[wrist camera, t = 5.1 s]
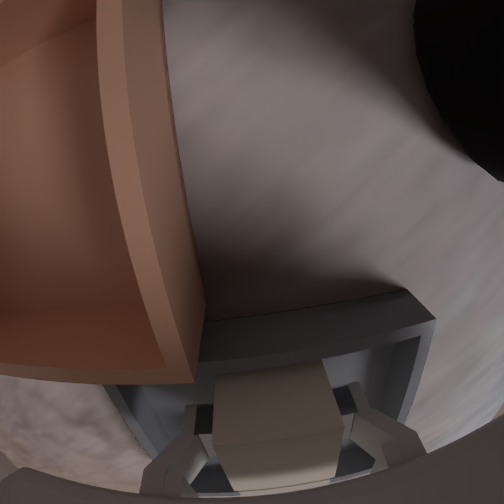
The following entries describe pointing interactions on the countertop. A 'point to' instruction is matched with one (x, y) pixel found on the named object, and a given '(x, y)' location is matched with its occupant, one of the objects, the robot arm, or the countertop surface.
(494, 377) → the countertop surface
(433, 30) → the coffee jar
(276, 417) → the cream cube
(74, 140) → the terracotta bin
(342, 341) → the tray
